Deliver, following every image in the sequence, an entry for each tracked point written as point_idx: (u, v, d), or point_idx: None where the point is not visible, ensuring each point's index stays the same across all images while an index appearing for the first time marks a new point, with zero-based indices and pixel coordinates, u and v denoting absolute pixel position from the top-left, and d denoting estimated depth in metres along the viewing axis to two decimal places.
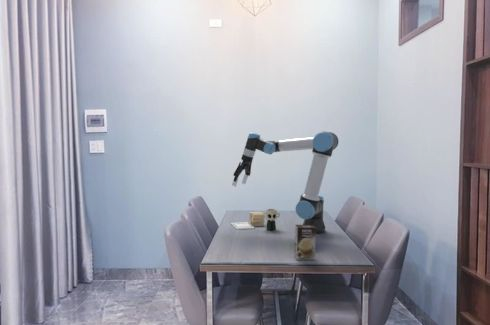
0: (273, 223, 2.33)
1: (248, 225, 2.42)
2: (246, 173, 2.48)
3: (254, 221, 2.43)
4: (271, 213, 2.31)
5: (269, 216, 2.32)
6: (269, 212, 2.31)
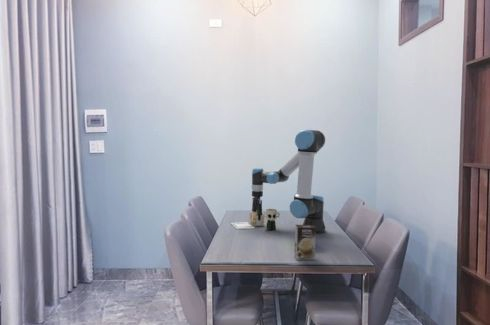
0: (273, 223, 2.33)
1: (248, 225, 2.42)
2: (254, 211, 2.52)
3: (254, 221, 2.43)
4: (271, 213, 2.31)
5: (269, 216, 2.32)
6: (269, 212, 2.31)
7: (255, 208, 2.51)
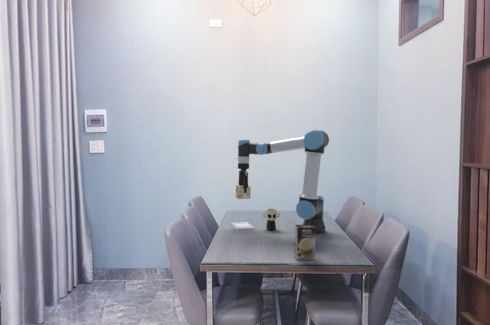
0: (273, 223, 2.33)
1: (248, 225, 2.42)
2: (240, 184, 2.45)
3: (240, 194, 2.36)
4: (271, 213, 2.31)
5: (269, 216, 2.32)
6: (269, 212, 2.31)
7: (241, 181, 2.44)
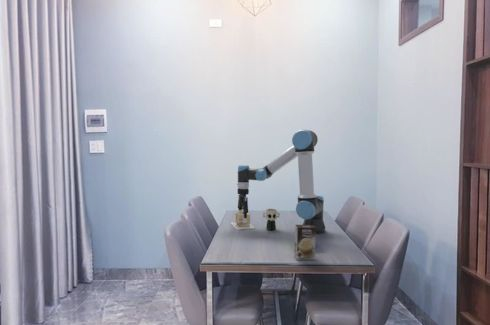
0: (273, 223, 2.33)
1: None
2: (239, 208, 2.47)
3: (240, 221, 2.37)
4: (271, 213, 2.31)
5: (269, 216, 2.32)
6: (269, 212, 2.31)
7: (241, 205, 2.46)
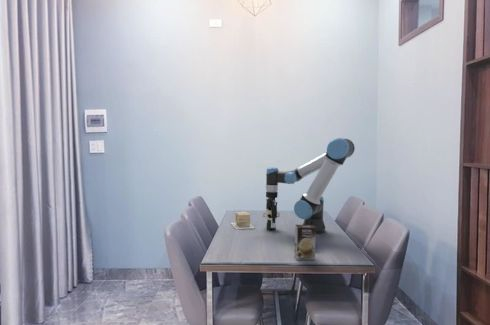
0: None
1: None
2: None
3: (240, 221, 2.37)
4: None
5: (269, 216, 2.32)
6: (269, 212, 2.31)
7: None
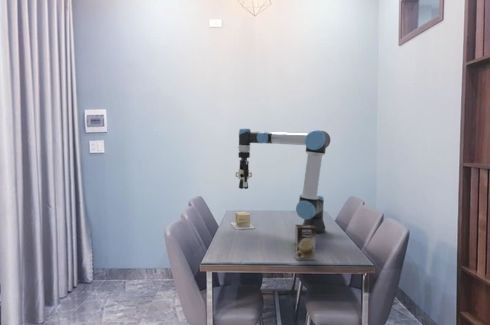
0: None
1: None
2: None
3: (240, 221, 2.37)
4: None
5: (241, 175, 2.38)
6: (241, 171, 2.37)
7: None
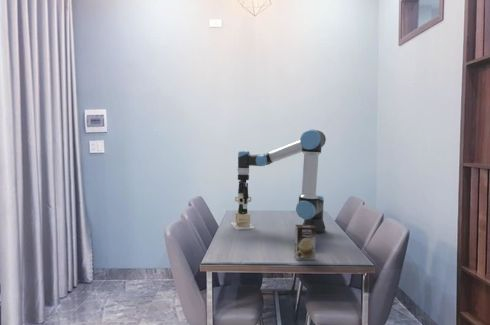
0: None
1: None
2: None
3: (240, 221, 2.37)
4: None
5: (241, 200, 2.38)
6: (241, 196, 2.38)
7: (241, 192, 2.45)
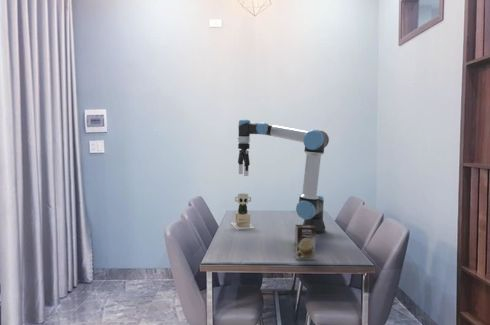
0: (244, 207, 2.39)
1: None
2: (240, 163, 2.47)
3: (240, 221, 2.37)
4: (242, 197, 2.38)
5: (240, 200, 2.39)
6: (240, 196, 2.38)
7: (241, 160, 2.45)
